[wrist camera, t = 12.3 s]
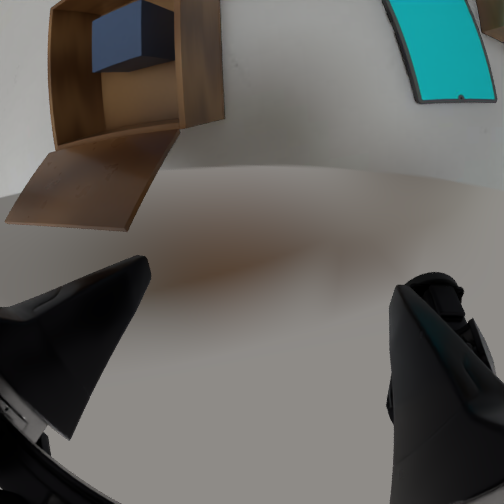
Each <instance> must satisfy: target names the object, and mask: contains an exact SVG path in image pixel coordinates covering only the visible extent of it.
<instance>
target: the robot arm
mask: <svg viewBox="0 0 504 504" xmlns="http://www.w3.org/2000/svg"><path fill="white" fill-rule="evenodd" d="M150 280H151V271H150V267H149V263H148V260H147V258H146V257H145V256H140V255H136V256H133V257H131V258H128V259H125V260H123V261H120V262H118V263H116V264H113V265H111V266H108V267H106V268H103V269H101V270H98V271H96V272H93V273H91V274H89V275H86V276H84V277H82V278H79V279H77V280H74V281H72V282H70V283H67V284H65V285H63V286H60V287H58V288H56V289H53V290H51V291H49V292H47V293H44V294H41V295H39V296H36V297H34V298H31V299H29V300H26V301H24V302H21V303H18V304H16V305H13V306H10V307H0V487H1V488H2V489H3V490H0V504H121V503H119V502H117V501H115V500H114V499H112V498H110V497H108V496H107V495H105V494H103V493H102V492H100V491H98V490H97V489H95V488H93V487H92V486H91V485H89V484H87V483H86V482H84V481H83V480H81V479H80V478H79V477H77V476H76V475H74V474H73V473H72V472H70V471H69V470H67V469H66V468H65V467H63V466H62V465H61V464H60V463H58V462H57V461H56V460H54V459H53V458H52V457H51V452H50V446H49V440H48V436H47V435H46V434H45V433H44V432H43V431H44V430H45V428H46V427H47V425H49V426H50V427H51V428H52V429H54V430H55V431H56V432H58V433H59V434H60V435H62V436H63V437H64V438H66V439H67V440H70V439H71V437H72V435H73V433H74V431H75V429H76V426H77V424H78V422H79V419H80V418H81V415H82V413H83V411H84V409H85V407H86V405H87V403H88V401H89V398H90V396H91V394H92V392H93V390H94V388H95V386H96V384H97V382H98V380H99V378H100V376H101V374H102V372H103V370H104V368H105V367H106V365H107V363H108V361H109V359H110V357H111V355H112V353H113V352H114V350H115V348H116V346H117V344H118V342H119V340H120V339H121V337H122V335H123V333H124V332H125V330H126V328H127V326H128V324H129V323H130V321H131V319H132V317H133V316H134V314H135V312H136V310H137V308H138V306H139V304H140V302H141V300H142V297H143V295H144V293H145V291H146V289H147V287H148V285H149V283H150ZM413 288H415V289H413ZM412 289H413V290H412ZM463 294H464V289H463V288H462V287H459V286H451V285H439V284H420V283H412V284H411V285H409V286H408V285H397V286H396V287H395V290H394V293H393V296H392V299H391V302H390V306H389V331H390V332H389V333H390V334H389V335H390V340H389V341H390V343H389V345H390V360H391V371H392V373H391V380H390V385H389V391H388V397H387V404H386V407H387V409H388V414H389V416H390V419H391V421H392V423H393V424H394V456H393V473H392V474H393V475H392V487H391V497H390V504H504V383H503V382H502V381H501V380H500V379H499V378H498V377H497V376H496V372H495V366H494V362H493V359H492V356H491V354H490V351H489V348H488V346H487V343H486V341H485V339H484V337H483V335H482V334H481V332H480V330H479V328H478V326H477V324H476V323H475V321H474V319H473V318H472V319H471V320H469V321H468V323H467V322H466V320H465V318H464V316H465V312H464V310H463V308H462V305H461V303H460V301H461V299H462V297H463Z"/></svg>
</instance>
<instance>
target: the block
mask: <svg viewBox="0 0 504 504" xmlns="http://www.w3.org/2000/svg"><path fill="white" fill-rule="evenodd" d="M170 61H175V42H174V12H173V11H170V10H168V9H166V8H163V7H161V6H158V5H156V4H153V3H150V2H148V1H145V0H138V1H135V2H133V3H130V4H128V5H126V6H123V7H121V8H119V9H116V10H114V11H112V12H110V13H108V14H106V15H104V16H102V17H100V18H98V19H96V20H94V21H92V72H93V73H102V72H131V71H135V70H138V69H142V68H146V67H149V66H153V65H157V64H161V63H166V62H170Z"/></svg>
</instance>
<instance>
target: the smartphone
mask: <svg viewBox="0 0 504 504" xmlns="http://www.w3.org/2000/svg"><path fill="white" fill-rule="evenodd" d="M382 2H383V4H384V6H385V9H386V11H387V14H388V17H389V19H390V22H391V23H392V26H393V28H394V31H395V35H396V38H397V40H398V43H399V46H400V49H401V52H402V55H403V59H404V62H405V65H406V69H407V72H408V75H409V77H410V81H411V85H412V89H413V93H414V97H415V100H416V102H417V103H419V104H432V103H461V102H478V103H496V102H497V95H496V90H495V85H494V80H493V76H492V72H491V68H490V64H489V60H488V57H487V53H486V50H485V47H484V44H483V40H482V38H481V35H480V32H479V29H478V26H477V24H476V21H475V18H474V16H473V14H472V11H471V9H470V6H469V4H468V2H467V0H382Z"/></svg>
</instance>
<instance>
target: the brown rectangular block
mask: <svg viewBox="0 0 504 504" xmlns="http://www.w3.org/2000/svg"><path fill="white" fill-rule="evenodd" d="M476 2H477V7H478V12H479V17H480V23H481V29H482V33H484V34H487V35H489V36H491V37H493V38H495V39H497V40H499V41H501V42H503V43H504V0H476Z"/></svg>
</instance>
